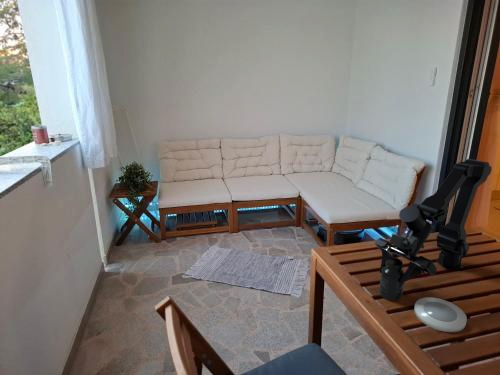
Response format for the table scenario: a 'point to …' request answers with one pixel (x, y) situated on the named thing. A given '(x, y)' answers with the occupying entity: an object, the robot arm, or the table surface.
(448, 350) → the table surface
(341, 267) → the table surface
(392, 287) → the supplement bottle
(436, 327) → the saucer
